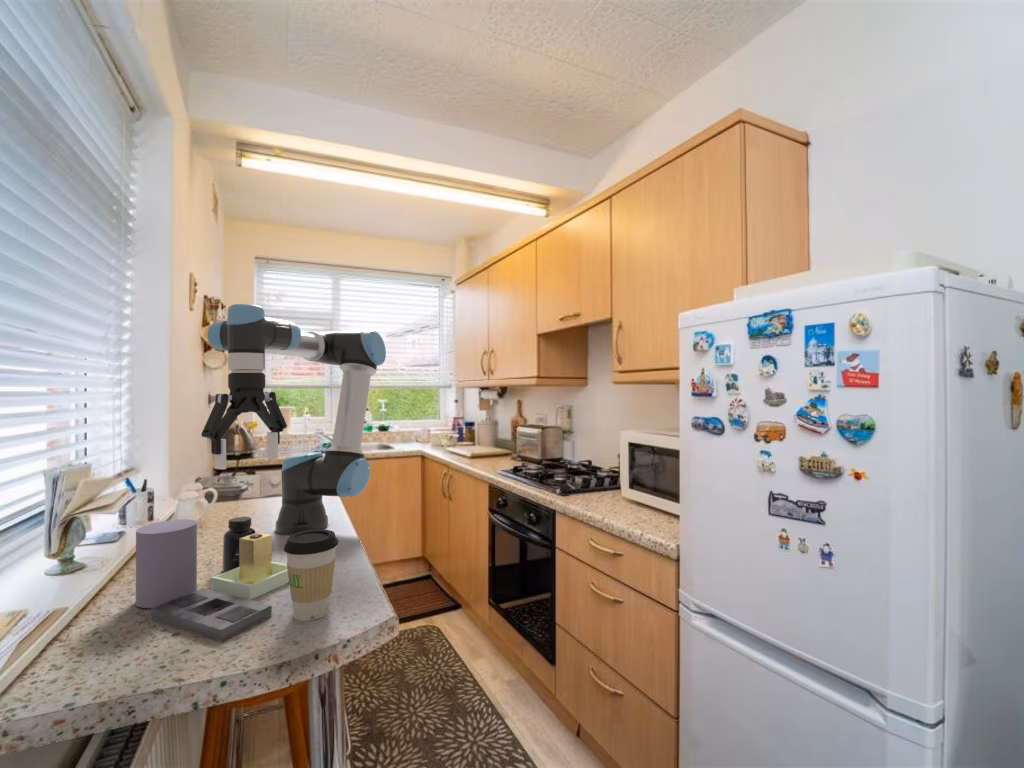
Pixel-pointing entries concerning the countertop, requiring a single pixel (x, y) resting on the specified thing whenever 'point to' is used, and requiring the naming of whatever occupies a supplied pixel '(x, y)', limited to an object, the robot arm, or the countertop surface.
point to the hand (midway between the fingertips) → (248, 463)
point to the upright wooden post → (255, 558)
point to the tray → (232, 586)
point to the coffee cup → (311, 572)
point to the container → (165, 561)
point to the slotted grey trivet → (217, 625)
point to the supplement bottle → (235, 541)
